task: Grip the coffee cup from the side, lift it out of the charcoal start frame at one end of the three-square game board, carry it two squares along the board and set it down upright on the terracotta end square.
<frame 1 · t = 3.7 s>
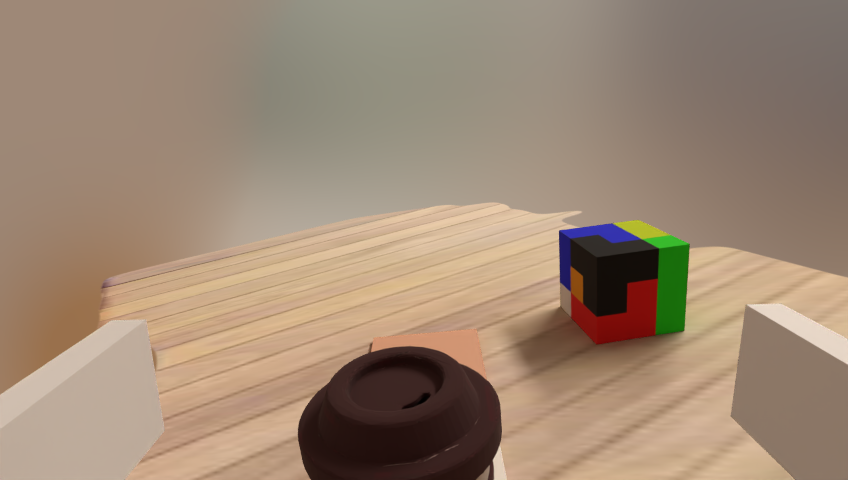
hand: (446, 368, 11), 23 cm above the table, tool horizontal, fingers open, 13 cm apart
puzzle toy: (617, 319, 60), on the table
game board: (425, 449, 42), on the table
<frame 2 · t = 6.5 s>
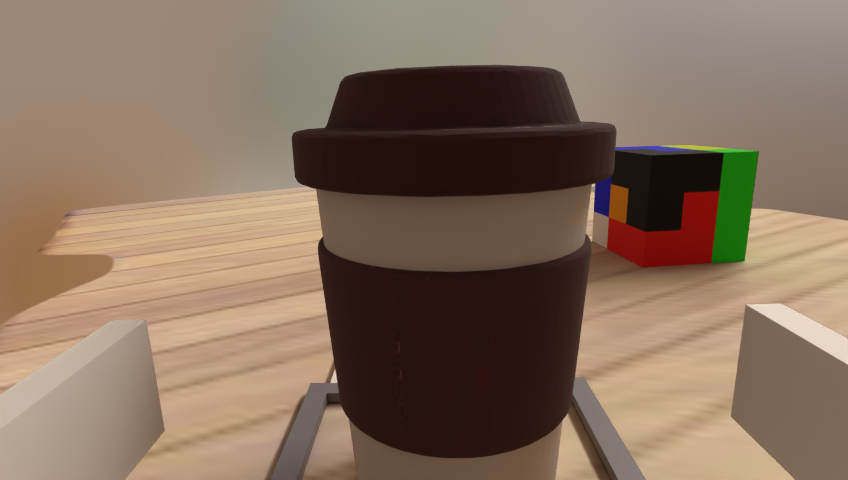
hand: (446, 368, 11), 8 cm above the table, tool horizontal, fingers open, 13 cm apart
puzzle toy: (661, 252, 51), on the table
game board: (443, 339, 32), on the table
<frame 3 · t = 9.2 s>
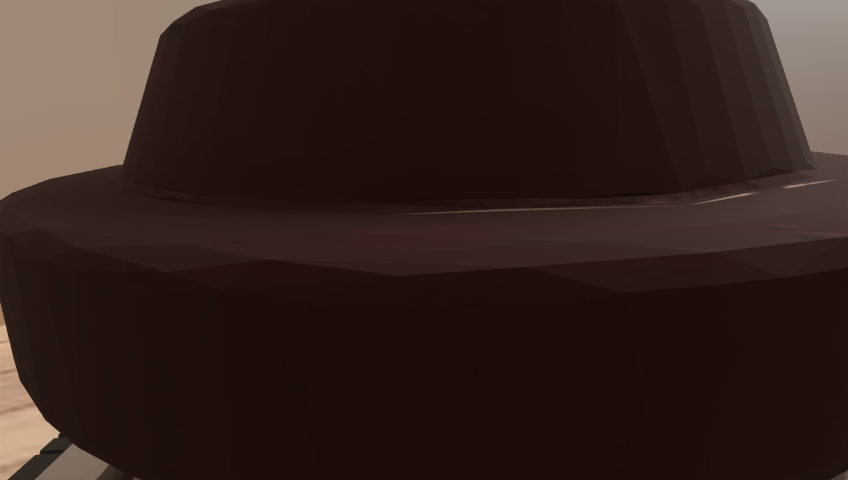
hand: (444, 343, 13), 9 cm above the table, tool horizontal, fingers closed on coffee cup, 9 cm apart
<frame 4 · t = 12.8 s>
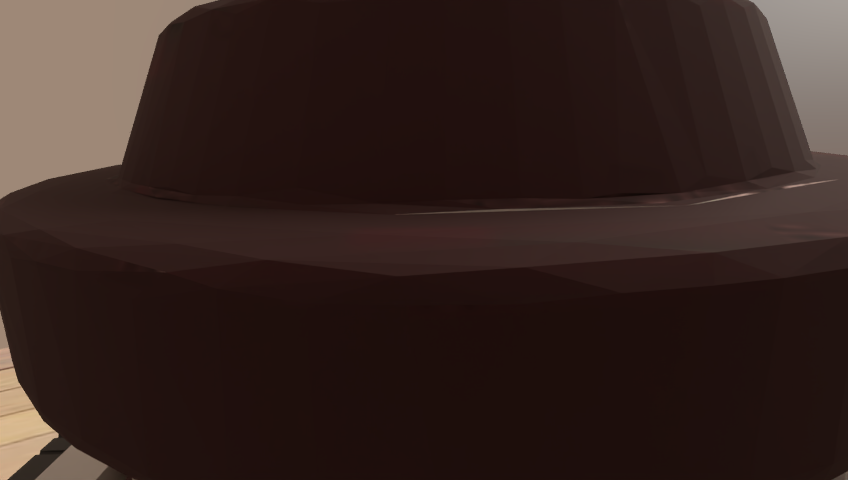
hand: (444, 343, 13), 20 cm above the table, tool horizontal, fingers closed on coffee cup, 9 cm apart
when the fingers open (10 cm above the table, at t = 16.6 s): coffee cup moves 2 cm, resting on game board.
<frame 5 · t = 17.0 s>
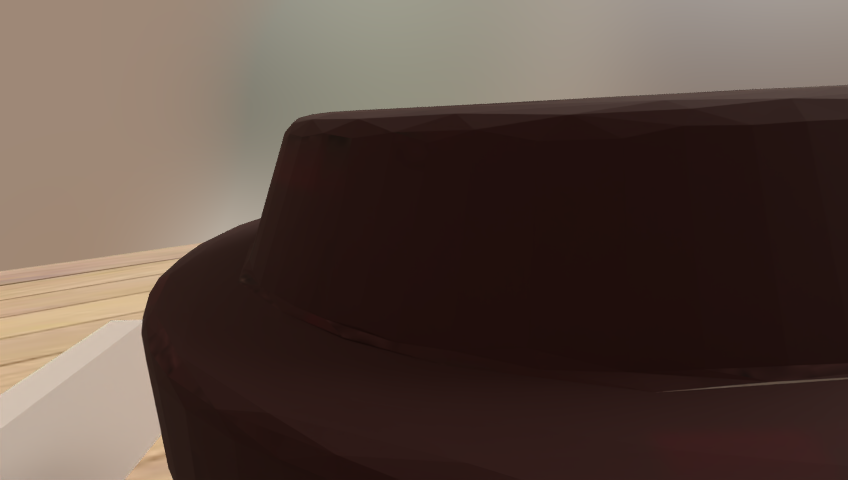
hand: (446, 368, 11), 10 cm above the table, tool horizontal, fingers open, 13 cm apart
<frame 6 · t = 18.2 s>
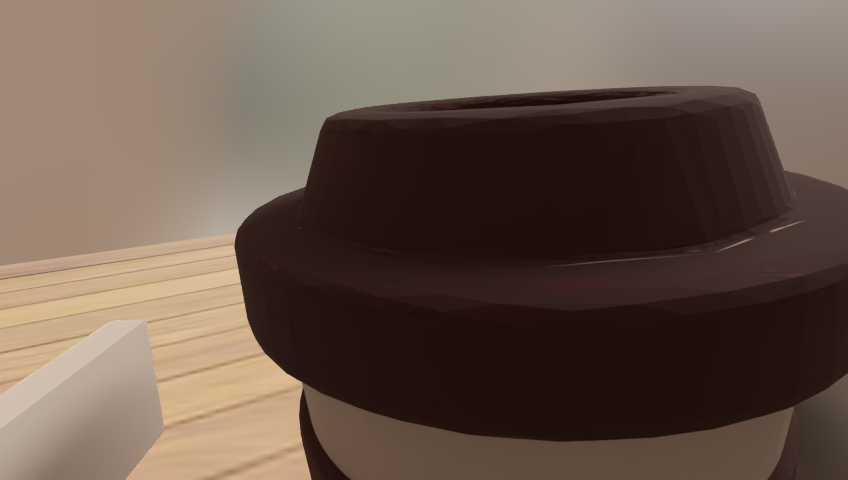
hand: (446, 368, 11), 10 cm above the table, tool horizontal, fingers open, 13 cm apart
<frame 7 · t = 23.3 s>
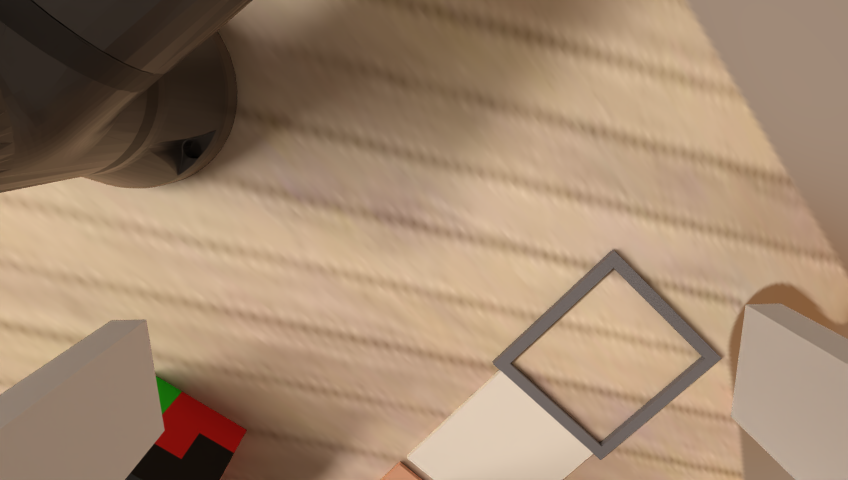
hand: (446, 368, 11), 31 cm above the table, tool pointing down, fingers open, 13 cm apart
puzzle toy: (172, 439, 47), on the table
game board: (499, 452, 47), on the table
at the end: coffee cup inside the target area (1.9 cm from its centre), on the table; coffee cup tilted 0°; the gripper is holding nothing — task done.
